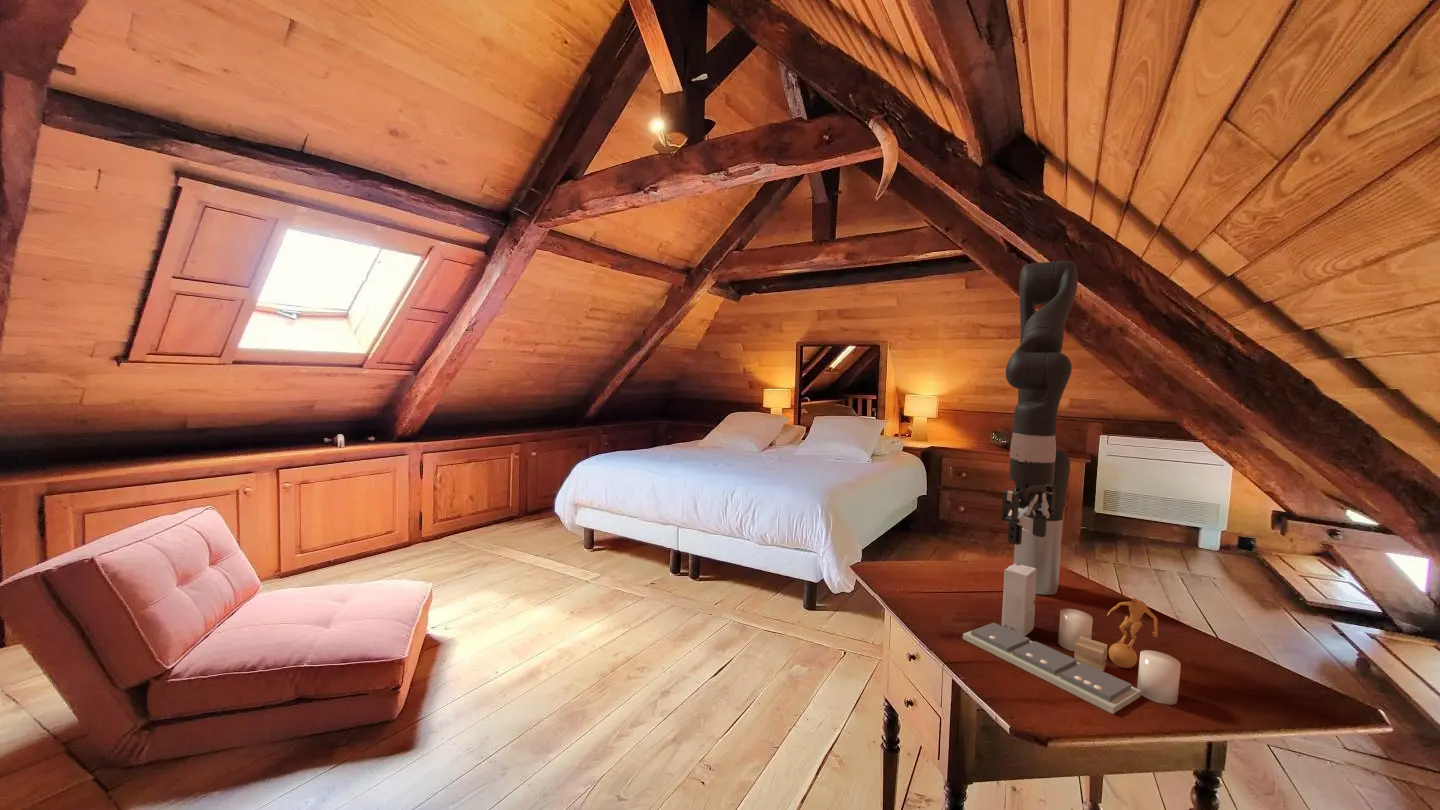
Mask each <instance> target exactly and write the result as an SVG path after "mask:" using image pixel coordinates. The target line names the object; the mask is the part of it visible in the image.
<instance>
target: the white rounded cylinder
mask: <svg viewBox="0 0 1440 810" xmlns="http://www.w3.org/2000/svg"><path fill="white" fill-rule="evenodd" d="M1093 620H1094V619H1093V616H1091V615H1090V614H1089V613H1086V612H1084V611H1081V610H1078V609H1074V608H1073V609H1072V608H1062V609H1061V610H1060V613H1059V624H1058V625H1059V626H1058V638H1057V643H1058V645H1059V646H1060V647H1062V648H1064V649H1065V650H1068V651H1070V652H1075V644H1076V642H1077V641H1078V639H1079V638H1080V636H1081V637H1084V638H1088V639H1091V640H1092V635H1093V634H1092V631H1093V630H1092V629H1093Z"/></svg>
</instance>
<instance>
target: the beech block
mask: <svg viewBox="0 0 1440 810" xmlns="http://www.w3.org/2000/svg"><path fill="white" fill-rule="evenodd" d="M1107 655H1108V644H1106V643H1103V642H1101V641H1097V640H1093V639H1092V638H1091V639H1088V638H1084V637H1081V636H1080V638H1079V639H1078V641H1077V642H1076V644H1075V652H1074V656H1073V657H1074V659H1076V660H1077V662H1079V663H1085V664H1088V665H1090V666H1092V667H1094V668H1096V669H1099V670H1101V671H1103V672H1105V669H1106V667H1107V659H1108V657H1107Z"/></svg>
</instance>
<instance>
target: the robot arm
mask: <svg viewBox="0 0 1440 810" xmlns="http://www.w3.org/2000/svg"><path fill="white" fill-rule="evenodd" d="M1019 275H1020V276H1019V283H1018V284H1019V285H1018V286H1019V287H1018V288H1019V320H1020V322H1019V323H1020V338H1019V339H1020V340H1019V341H1020V342H1019V345H1018V347H1017V348H1016V349H1015V351H1014V352H1013V353H1012V354H1011V356H1010V357H1009V359H1008V362H1007V364H1006V368H1005V379H1006V381H1007V383H1008V385H1010V386H1011V387H1013V388H1015V389H1017V404H1016V405H1015V407H1014V411H1013V426H1012V427H1013V428H1012V431H1013V432H1012V436H1011V440H1010V449H1009V467H1008V478H1009V480H1011V481H1012V482H1014V484H1015V485H1014V489H1013V490H1010V489H1007V488H1006V489H1004V490H1003V492H1002V493H1003V496H1002V504H1001V506H1002V507H1001V514H1000V515H1001V516H1000V520H1001V521H1003V522H1006V523H1008V534H1007V541H1008V543H1010V544H1012V545H1013V544H1014V551H1013V552H1014V554H1013V564H1015V563H1016V564H1020V565H1024V566H1029V567H1033V568H1036V569H1037V571H1036V594H1037V595H1043V596H1048V595H1049V596H1050V595H1055V594H1057V593H1058V588H1059V582H1060V581H1059V580H1060V570H1061V569H1060V567H1061V556H1062V549H1061V548H1062V539H1063V538H1062V535H1063V524H1064V523H1063V521H1064V519H1063V518H1064V511H1065V508H1066V503H1067V495H1068V486H1069V480H1070V473H1071V460H1070V457H1069V455H1068V452H1067V451H1064V450H1063V449H1058V448H1057V444H1056V443H1057V441H1056V433H1057V432H1056V431H1057V430H1056V429H1057V418H1058V411H1059V407H1060V402H1061V400H1062V396H1063V394H1064V392H1065V389H1066V386H1067V385H1068V382H1069V381H1070V378H1071V374H1072V369H1073V368H1072V362H1071V360H1070V358H1069V357H1068V356H1067V355H1066V354H1065V353H1062V349H1063V343H1064V337H1065V336H1064V334H1065V327H1066V322H1067V319H1068V318H1069V315H1070V312H1071V310H1072V307H1073V303H1074V301H1075V298H1076V294H1077V291H1078V281H1079V279H1078V277H1079V275H1078V268H1077V264H1076V263H1075V262H1074V261H1072V260H1056V261H1055V260H1054V261H1043V262H1033V263H1027V264H1024V265H1023V267H1022V269H1021V271H1020V274H1019ZM1037 305H1043V306H1041V307H1040V308H1039V309H1037V310H1036V306H1037ZM1008 511H1009V512H1008Z"/></svg>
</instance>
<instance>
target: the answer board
mask: <svg viewBox="0 0 1440 810" xmlns="http://www.w3.org/2000/svg"><path fill="white" fill-rule="evenodd" d="M962 639H963V640H964V641H967V642H969V643H970V644H973V645H974V646H977V647H978V648H980V649H982V650H983V651H986V652H988V653H990V654H991V655H992V654H993V655H994V656H996V657H997V658H1000V659H1002V660H1005V662H1008V663H1010V664H1011V665H1012V664H1013V665H1014V666H1016V667H1018V668H1019V669H1023V670H1024V671H1026V672H1028V673H1030V674H1031V675H1035V676H1036V677H1038V678H1040V679H1042V680H1045V681H1047V682H1049V684H1052V685H1054V686H1056V687H1058V688H1060V689H1062V690H1065V691H1066V692H1068V693H1070V694H1072V695H1074V696H1076V697H1078V698H1079V699H1082V700H1084V701H1086V702H1087V703H1090V704H1092V705H1094V706H1096V707H1098V708H1100V709H1102V710H1104V711H1106V712H1108V713H1109V714H1111V715H1114V714H1115V713H1117V712H1118V711H1120V710H1122V709H1123V708H1125V707H1127V706H1128V705H1130V704H1131V703H1133V702H1134V701H1136V700H1137V699H1139V698H1141V696H1142V695H1141V690H1139V689H1137V687H1134V686H1132V683H1130V682H1127V681H1125V680H1123V679H1120V678H1118V677H1116V676H1114V675H1112V674H1110V673H1108V672H1105V671H1101V670H1099V669H1096V668H1094V667H1092V666H1090V665H1088V664H1085V663H1079V662H1077V660H1076V659H1074V658H1073V657H1072V656H1070V655H1067V654H1065V653H1063V652H1060V651H1059V650H1056V649H1054V648H1052V647H1049V646H1047V645H1045V644H1043V643H1041V642H1039V641H1032V640H1030V639H1031V638H1029V637H1027V636H1023V635H1021V634H1018V633H1016V632H1014V631H1012V630H1009V629H1007V628H1005V627H1003V626H1002V625H1001V624H998V623H996V622H990V623H988V624H986V625H984V626H980V627H978V628H975V629H972V630H969V631H967V632H964V633H962Z"/></svg>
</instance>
